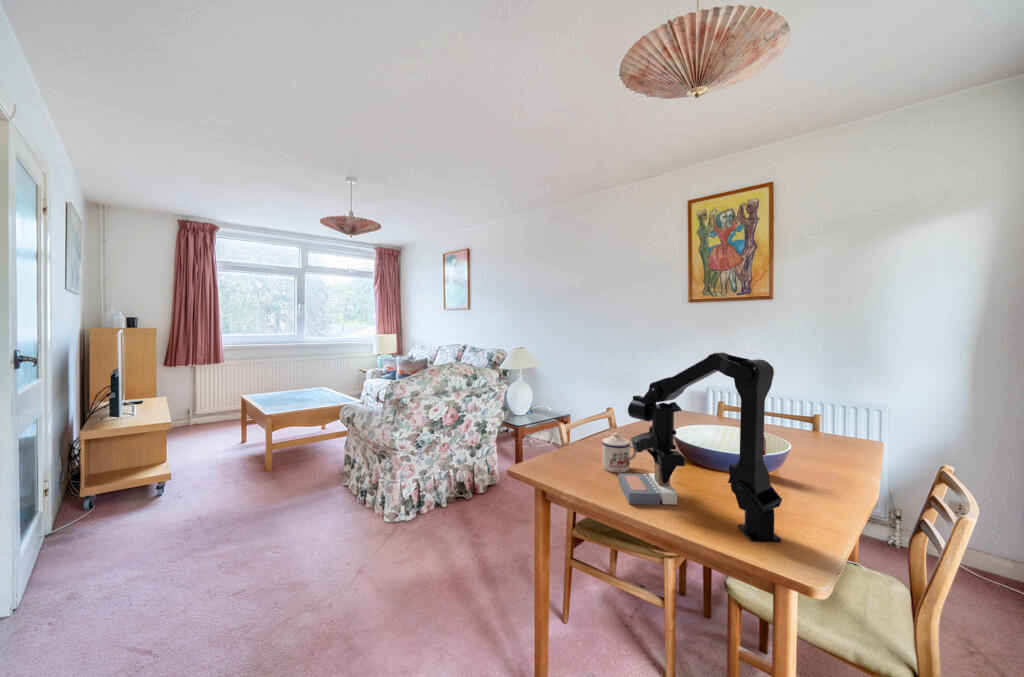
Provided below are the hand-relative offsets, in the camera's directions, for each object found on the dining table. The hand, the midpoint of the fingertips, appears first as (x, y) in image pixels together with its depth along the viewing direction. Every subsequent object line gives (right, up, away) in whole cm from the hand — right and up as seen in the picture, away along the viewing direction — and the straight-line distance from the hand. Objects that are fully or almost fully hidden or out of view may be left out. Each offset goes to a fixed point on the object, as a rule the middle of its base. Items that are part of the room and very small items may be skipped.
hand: (662, 479), depth 115 cm
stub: (0, -4, 0) cm, 4 cm away
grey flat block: (-7, -4, +1) cm, 8 cm away
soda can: (+34, -3, +15) cm, 38 cm away
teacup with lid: (-6, -3, +21) cm, 22 cm away
